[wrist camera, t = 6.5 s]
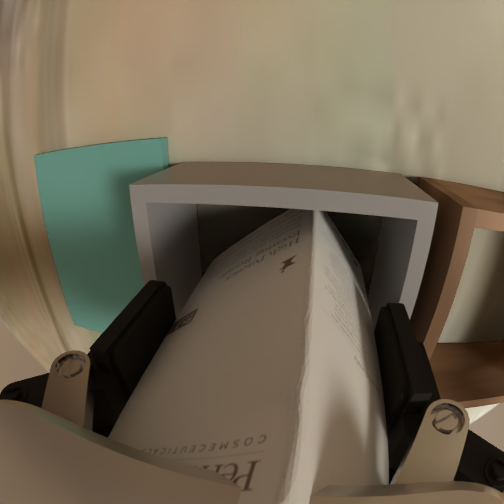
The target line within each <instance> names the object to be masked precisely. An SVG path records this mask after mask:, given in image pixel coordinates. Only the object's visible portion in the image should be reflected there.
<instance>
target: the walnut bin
mask: <svg viewBox="0 0 504 504" xmlns="http://www.w3.org/2000/svg"><path fill="white" fill-rule="evenodd" d="M418 187H419V188H420V189H421V190H423V191H424V192H425V193H427V194H428V195H429V196H431V197H432V198H433V199H434V200H436V201H437V202H438V209H437V215H436V220H435V225H434V230H433V235H432V240H431V245H430V249H429V253H428V258H427V262H426V266H425V270H424V274H423V277H422V281H421V285H420V288H419V292H418V295H417V299H416V302H415V305H414V309H413V312H412V315H411V318H410V322H411V325H412V328H413V330H414V333H415V336H416V339H417V342H422V343H423V345H424V347H425V350H426V353H427V356H428V359H429V362H430V365H431V368H432V371H433V374H434V378H435V381H436V384H437V388H438V391H439V394H440V398H441V399H449V400H453V401H455V402H457V403H459V404H460V405H462V406H463V407H464V408H470V407H478V406H484V405H491V404H497V403H502V402H504V341H500V342H478V343H437V342H438V339H439V337H440V335H441V332H442V330H443V327H444V325H445V322H446V319H447V317H448V314H449V311H450V309H451V306H452V303H453V300H454V297H455V294H456V291H457V288H458V285H459V282H460V279H461V276H462V272H463V269H464V265H465V262H466V258H467V255H468V251H469V247H470V243H471V239H472V235H473V231H474V227H476V228H483V229H489V230H496V231H502V232H504V192H499V191H495V190H490V189H485V188H481V187H476V186H470V185H465V184H460V183H454V182H449V181H443V180H437V179H431V178H424V177H419V183H418Z"/></svg>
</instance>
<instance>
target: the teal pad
mask: <svg viewBox="0 0 504 504" xmlns="http://www.w3.org/2000/svg"><path fill="white" fill-rule="evenodd" d="M34 159H35V168H36V175H37V182H38V189H39V195H40V201H41V206H42V212H43V217H44V222H45V226H46V231H47V235H48V240H49V244H50V248H51V252H52V256H53V260H54V263H55V267H56V270H57V274H58V277H59V281H60V284H61V287H62V290H63V294H64V297H65V300H66V303H67V306H68V309H69V312H70V314H71V317H72V320H73V323H74V325H77V326H80V327H84V328H87V329H91V330H94V331H98V332H102V333H103V332H104V331H105V330H106V329H107V327H108V326H109V325H110V324H111V323H112V322H113V320H114V319H115V318H116V317H117V316H118V315H119V314H120V313H121V311H122V310H123V309H124V308H125V307H126V306H127V305H128V304H129V302H130V301H131V300H132V299H133V298H134V297H135V296H136V295H137V294H138V292H139V291H140V290H141V289H142V288H143V287H144V283H143V278H142V272H141V267H140V261H139V255H138V249H137V242H136V236H135V229H134V222H133V214H132V206H131V198H130V189H129V185H130V184H132V183H134V182H136V181H139V180H141V179H143V178H146V177H148V176H150V175H153V174H155V173H157V172H160V171H162V170H165V169H167V168H169V161H168V141H167V137H164V138H151V139H140V140H129V141H120V142H111V143H103V144H96V145H89V146H82V147H75V148H69V149H63V150H58V151H52V152H47V153H42V154H38V155H34Z"/></svg>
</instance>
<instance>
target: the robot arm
mask: <svg viewBox="0 0 504 504" xmlns="http://www.w3.org/2000/svg"><path fill="white" fill-rule="evenodd" d="M175 321H176V315H175V309H174V302H173V296H172V290H171V287H170V286H167V283H166V282H164V281H157V280H150V281H148V283H147V284H146V285H145V286H144V287H143V288H142V289H141V290H140V291H139V292H138V294H137V295H136V296H135V297H134V298H133V299H132V300H131V301H130V302H129V304H128V305H127V306H126V307H125V308H124V309H123V310H122V311H121V313H120V314H119V315H118V316H117V317H116V318H115V319H114V320H113V322H112V323H111V324H110V325H109V326H108V327H107V329H106V330H105V331H104V332H103V333H102V334H101V335H100V337H99V338H98V339H97V340H96V341H95V343H94V344H93V345H92V346H91V347H90V350H91V351H90V352H89V353H88V354H85V353H84V352H81V351H68V352H65V353H63V354H61V355H60V356H58V357H57V358H56V359H55V360H54V361H53V363H52V365H51V369H50V373H47V374H44V375H40V376H36V377H32V378H28V379H25V380H21V381H17V382H14V383H11V384H9V385H7V386H6V387H5V388H4V389H3V390H2V392H1V394H0V504H238V501H239V497H240V494H241V490H242V487H240V486H239V485H237V484H235V483H234V482H232V481H230V480H229V479H227V478H225V477H224V476H222V475H220V474H219V473H217V472H216V471H213V470H208V469H204V468H200V467H196V466H192V465H188V464H184V463H180V462H177V461H173V460H170V459H166V458H163V457H160V456H157V455H153V454H150V453H147V452H144V451H141V450H138V449H136V448H133V447H130V446H127V445H125V444H122V443H119V442H117V441H114V440H112V439H109V438H108V437H109V435H110V433H111V431H112V429H113V427H114V425H115V423H116V421H117V420H118V418H119V416H120V414H121V412H122V410H123V409H124V407H125V405H126V403H127V402H128V400H129V398H130V396H131V395H132V393H133V391H134V389H135V388H136V386H137V384H138V382H139V381H140V379H141V377H142V375H143V374H144V372H145V370H146V369H147V367H148V365H149V364H150V362H151V360H152V359H153V357H154V355H155V354H156V352H157V350H158V349H159V347H160V345H161V344H162V342H163V340H164V338H165V336H166V335H167V333H168V332H169V330H170V329H171V327H172V325H173V324H174V322H175ZM374 335H375V341H376V347H377V353H378V359H379V366H380V373H381V380H382V388H383V396H384V405H385V416H386V425H387V438H388V457H389V485H357V486H340V485H328V486H326V487H324V488H323V489H321V490H319V491H317V492H316V493H314V494H313V495H311V496H310V501H309V504H504V452H503V451H501V450H500V449H498V448H497V447H495V446H494V445H492V444H490V443H489V442H487V441H486V440H484V439H482V438H481V437H480V436H478V435H477V434H475V433H473V432H472V431H470V430H469V429H468V428H469V416H468V413H467V411H466V410H465V408H464V407H463V406H462V405H460V404H459V403H457V402H455V401H453V400H449V399H441V398H440V394H439V391H438V388H437V384H436V381H435V378H434V374H433V371H432V368H431V365H430V362H429V359H428V356H427V353H426V350H425V347H424V345H423V343H422V342H417V339H416V336H415V333H414V330H413V328H412V325H411V322H410V319H409V316H408V314H407V311H406V308H405V306H404V304H403V303H387V304H386V307H381V308H380V312H379V315H378V319H377V323H376V327H375V330H374Z"/></svg>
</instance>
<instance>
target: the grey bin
mask: <svg viewBox="0 0 504 504" xmlns="http://www.w3.org/2000/svg"><path fill="white" fill-rule="evenodd" d="M129 189H130V198H131V206H132V214H133V222H134V229H135V236H136V242H137V249H138V255H139V261H140V267H141V272H142V278H143V283H144V286H145V285H146V284H147V283H148V281H150V280H157V281H164V282H166V283H167V286H170V287H171V290H172V296H173V302H174V309H175V315H176V319H177V317H178V315H179V314H180V312H181V311H182V309H183V307H184V306H185V304H186V303H187V301H188V299H189V298H190V296H191V294H192V293H193V291H194V290H195V288H196V286H197V285H198V283H199V282H200V280H201V278H202V270H201V258H200V246H199V232H198V217H197V204H217V205H239V206H258V207H275V208H291V209H305V210H318V211H331V212H343V213H354V214H365V215H375V216H382V222H381V229H380V235H379V242H378V248H377V253H376V259H375V264H374V270H373V275H372V280H371V285H370V290H369V294H368V303H369V308H370V313H371V318H372V324H373V329H374V330H375V327H376V323H377V319H378V315H379V312H380V308H381V307H386V304H387V303H403V304H404V306H405V308H406V311H407V314H408V316H409V319H410V318H411V315H412V312H413V309H414V305H415V302H416V299H417V295H418V292H419V288H420V285H421V281H422V277H423V274H424V270H425V266H426V262H427V258H428V253H429V249H430V245H431V240H432V235H433V230H434V225H435V220H436V215H437V209H438V202H437V201H436V200H434V199H433V198H432V197H431V196H429V195H428V194H427V193H425V192H424V191H423V190H421V189H420V188H419V187H417V186H416V185H415V184H413V183H412V182H411V181H409V180H408V179H407V178H405V177H404V176H402V175H401V174H396V173H388V172H379V171H371V170H361V169H351V168H340V167H328V166H315V165H299V164H280V163H252V162H182V163H179V164H177V165H174V166H172V167H169V168H167V169H165V170H162V171H160V172H157V173H155V174H153V175H150V176H148V177H146V178H143V179H141V180H139V181H136V182H134V183H132V184H130V185H129Z"/></svg>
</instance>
